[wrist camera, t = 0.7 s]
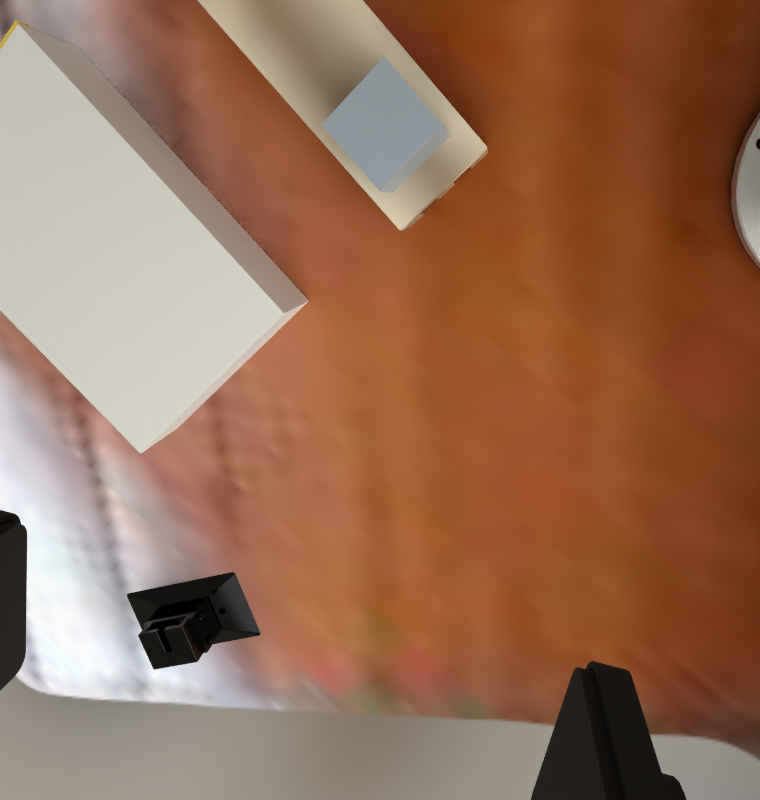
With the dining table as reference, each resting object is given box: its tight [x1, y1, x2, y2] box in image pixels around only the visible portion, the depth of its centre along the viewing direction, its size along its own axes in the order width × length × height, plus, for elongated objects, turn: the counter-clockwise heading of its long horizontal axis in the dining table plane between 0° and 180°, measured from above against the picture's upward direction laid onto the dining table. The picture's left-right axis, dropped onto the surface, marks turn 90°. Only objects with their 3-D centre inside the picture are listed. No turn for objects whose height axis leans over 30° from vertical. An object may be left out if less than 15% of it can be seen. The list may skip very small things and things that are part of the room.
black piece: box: [127, 572, 260, 669], centre depth 47 cm, size 12×7×5 cm, turn 108°
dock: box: [0, 20, 309, 454], centre depth 39 cm, size 13×20×5 cm, turn 43°
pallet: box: [198, 0, 488, 230], centre depth 34 cm, size 6×20×4 cm, turn 43°
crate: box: [321, 56, 450, 193], centre depth 31 cm, size 4×4×4 cm
